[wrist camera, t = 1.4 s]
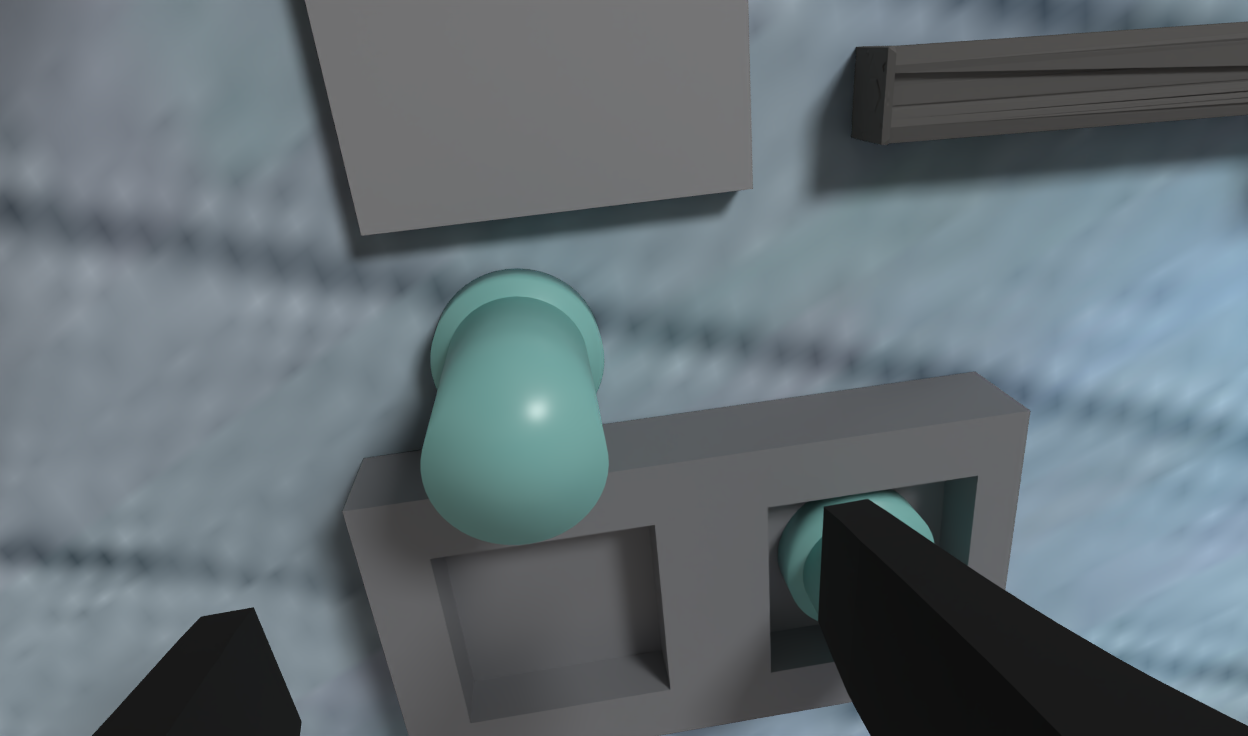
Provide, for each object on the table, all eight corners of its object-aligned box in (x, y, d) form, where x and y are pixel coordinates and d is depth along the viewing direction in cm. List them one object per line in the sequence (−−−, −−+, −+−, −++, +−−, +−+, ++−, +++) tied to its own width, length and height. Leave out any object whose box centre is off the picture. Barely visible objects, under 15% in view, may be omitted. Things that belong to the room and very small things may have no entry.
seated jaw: (913, 590, 22) (1037, 764, 17) (778, 613, 22) (861, 797, 17) (922, 472, 21) (1063, 622, 15) (776, 494, 21) (867, 655, 15)
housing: (949, 619, 25) (993, 677, 22) (431, 705, 23) (420, 776, 21) (975, 371, 21) (1030, 411, 19) (363, 458, 20) (342, 511, 17)
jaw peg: (608, 409, 20) (639, 544, 15) (451, 431, 20) (423, 577, 14) (591, 258, 18) (618, 346, 13) (419, 279, 18) (372, 379, 13)
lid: (743, 183, 18) (752, 188, 17) (368, 227, 17) (361, 235, 17) (735, -105, 16) (745, -113, 15) (298, -66, 15) (287, -72, 14)
